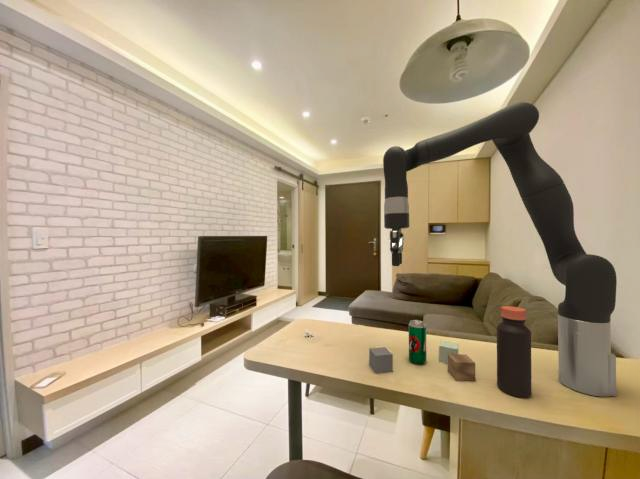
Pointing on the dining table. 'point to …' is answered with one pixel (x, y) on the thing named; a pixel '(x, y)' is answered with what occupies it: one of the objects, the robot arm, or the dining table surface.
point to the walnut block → (461, 367)
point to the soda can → (417, 342)
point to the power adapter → (308, 333)
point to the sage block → (447, 350)
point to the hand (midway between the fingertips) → (397, 265)
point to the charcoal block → (381, 360)
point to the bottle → (514, 353)
